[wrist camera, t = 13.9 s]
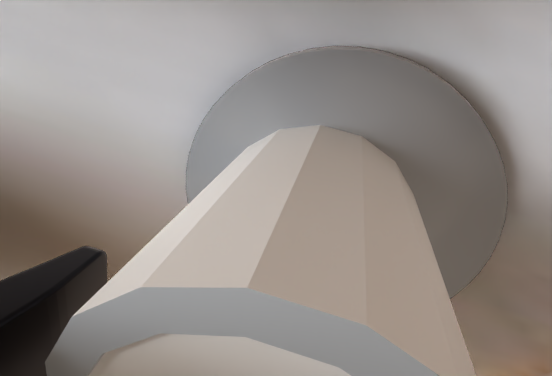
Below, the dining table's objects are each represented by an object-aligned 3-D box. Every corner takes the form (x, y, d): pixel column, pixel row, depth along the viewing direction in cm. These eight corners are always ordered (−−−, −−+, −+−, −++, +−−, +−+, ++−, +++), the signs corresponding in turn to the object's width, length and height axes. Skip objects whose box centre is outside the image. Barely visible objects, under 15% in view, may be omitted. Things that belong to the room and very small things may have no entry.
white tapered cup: (493, 238, 11) (626, 562, 5) (307, 332, 14) (255, 598, 8) (325, 42, 10) (238, 177, 4) (160, 197, 13) (-27, 401, 7)
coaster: (426, 344, 14) (428, 358, 14) (183, 268, 15) (176, 279, 15) (572, 97, 10) (582, 105, 9) (208, 7, 10) (200, 11, 10)
